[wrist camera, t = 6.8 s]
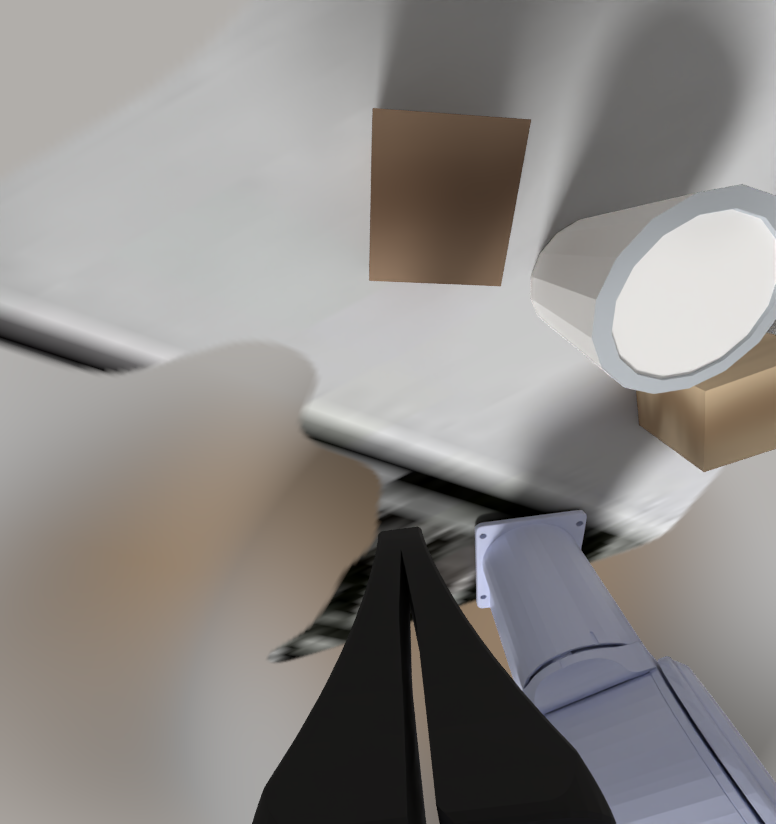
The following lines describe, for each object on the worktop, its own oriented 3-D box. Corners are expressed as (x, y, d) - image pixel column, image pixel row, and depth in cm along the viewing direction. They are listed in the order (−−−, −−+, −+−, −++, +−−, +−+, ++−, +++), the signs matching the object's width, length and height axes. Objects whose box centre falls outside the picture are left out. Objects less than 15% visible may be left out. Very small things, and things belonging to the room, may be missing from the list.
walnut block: (468, 272, 18) (500, 286, 13) (369, 267, 18) (369, 280, 13) (485, 151, 16) (531, 119, 11) (371, 143, 15) (372, 108, 11)
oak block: (720, 395, 22) (809, 437, 17) (638, 424, 23) (703, 472, 18) (722, 321, 20) (826, 348, 15) (632, 355, 20) (705, 391, 16)
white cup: (573, 171, 16) (703, 135, 10) (681, 241, 18) (852, 248, 11) (492, 312, 19) (553, 353, 13) (592, 361, 20) (690, 419, 14)
